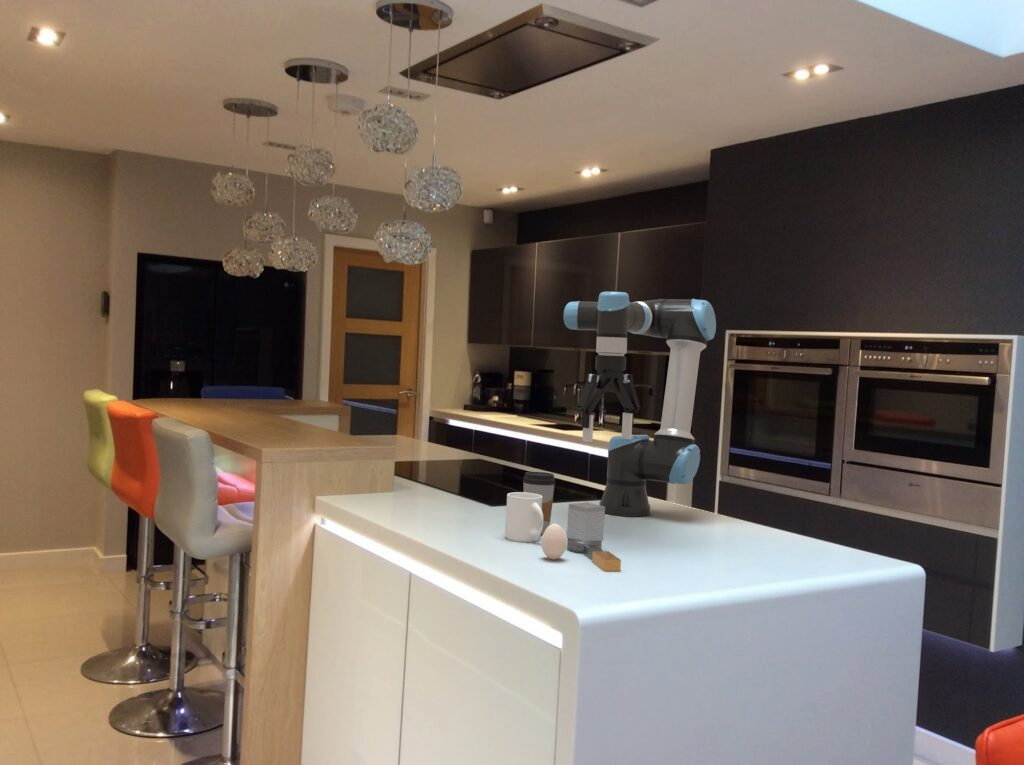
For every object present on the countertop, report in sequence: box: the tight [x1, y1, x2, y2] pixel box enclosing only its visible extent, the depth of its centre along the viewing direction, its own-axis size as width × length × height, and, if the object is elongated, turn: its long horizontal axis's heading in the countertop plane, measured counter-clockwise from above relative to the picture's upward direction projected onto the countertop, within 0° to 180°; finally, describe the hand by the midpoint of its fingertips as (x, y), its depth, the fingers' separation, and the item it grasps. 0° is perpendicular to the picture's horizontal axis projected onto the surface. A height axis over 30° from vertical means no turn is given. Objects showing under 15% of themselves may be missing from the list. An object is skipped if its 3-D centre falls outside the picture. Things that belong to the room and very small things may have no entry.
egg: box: [541, 523, 567, 560], centre depth 188 cm, size 6×6×8 cm
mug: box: [504, 491, 544, 543], centre depth 206 cm, size 9×12×11 cm
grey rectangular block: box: [566, 501, 606, 543], centre depth 199 cm, size 6×6×8 cm
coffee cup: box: [522, 471, 556, 536], centre depth 216 cm, size 8×8×15 cm
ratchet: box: [566, 537, 622, 572], centre depth 191 cm, size 8×24×6 cm, turn 13°
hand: (607, 440), depth 212 cm, fingers open, 13 cm apart
